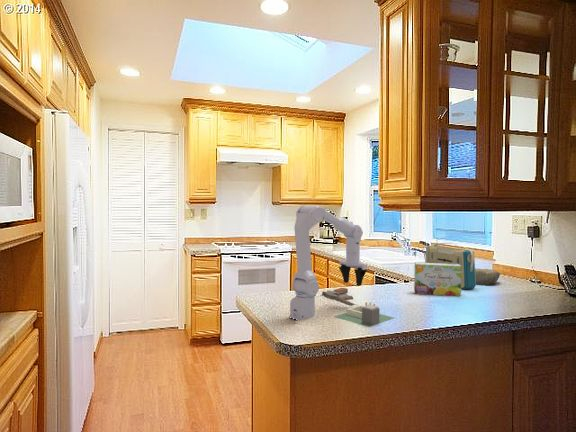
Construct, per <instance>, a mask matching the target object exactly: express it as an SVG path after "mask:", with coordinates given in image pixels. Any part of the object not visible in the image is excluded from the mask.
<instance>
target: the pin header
mask: <svg viewBox="0 0 576 432" xmlns="http://www.w3.org/2000/svg"><path fill="white" fill-rule="evenodd" d="M364 303H365V305H364V306H367V305H373V306H376V303H373V304H372V302H369V303H368V301H365V302H364Z"/></svg>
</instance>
